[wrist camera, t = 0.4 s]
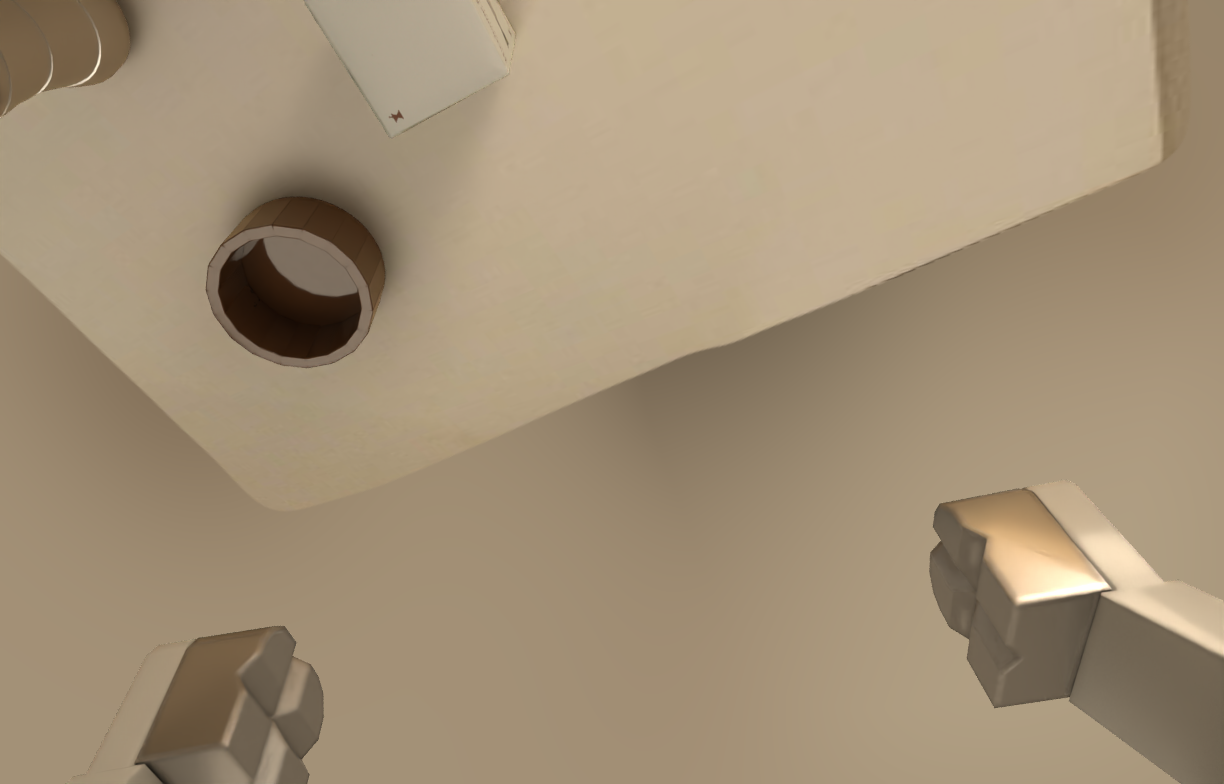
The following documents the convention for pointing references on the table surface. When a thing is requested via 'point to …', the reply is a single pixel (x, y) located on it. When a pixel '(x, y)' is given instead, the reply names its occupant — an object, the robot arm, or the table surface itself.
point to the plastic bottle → (58, 46)
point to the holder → (297, 282)
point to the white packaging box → (417, 52)
